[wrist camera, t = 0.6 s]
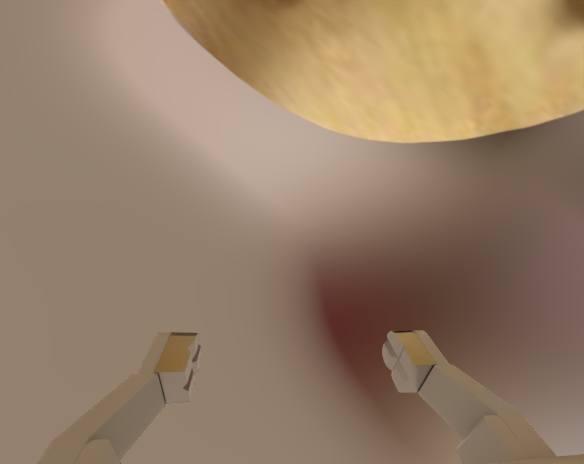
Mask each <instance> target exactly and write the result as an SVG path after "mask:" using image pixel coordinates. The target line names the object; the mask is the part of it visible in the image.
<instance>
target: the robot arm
mask: <svg viewBox="0 0 584 464" xmlns="http://www.w3.org/2000/svg"><path fill="white" fill-rule="evenodd" d="M387 338H388V341H387V342H385V343H384V345H383V348H382V355H383V359H384V362H385V364H386V366H387V367H388V368H390V370H392V375H391V377H392V379H393V381H394V383H395V385H396V387H397V389H398V392H399V393H401V392H402V393H404V392H418V394H419V395H420V396H421V397H422V398H423V399H424V400H425V401H426V402H427V403H428V404H429V405H430V406H431V407H432V408H433V409H434V410H435V411H436V412H437V413H438V414H439V416H440V417H442V419H443V420H445V422H446V423H448V425H449V426H451V428H452V429H453V430H454V431H455V432H457V434H458V435H459V436H460V437H461V438H462V439H463V441H462V442H461V443H460V445H459V446H458V447H457V449H456V453H457V454H458V456H459V458H460V460H461V461H462V463H463V464H584V454H580V455H569V456H558V457H557V456H556V455H555V454H554V452H553V451H552V450H551V449H550V448H549V446H548V445H547V444H546V443H545V442H544V441H543V439H542V438H541V437H540V436H539V435H538V433H537V432H536V431H535V430H534V428H532V426H531V425H530V424H529V423H528V421H527V420H526V419H525V418H524V417H523V415H522V414H521V413H520V412H519V411H517V410H516V409H515V408H513V407H512V406H510V405H509V404H508V403H506V402H505V401H503V400H502V399H500V398H499V397H498V396H496V395H495V394H493V393H492V392H491V391H489V390H488V389H486V388H485V387H483V386H482V385H481V384H479V383H478V382H476V381H475V380H474V379H472V378H471V377H469V376H468V375H467V374H465V373H464V372H462V371H461V370H459V369H458V368H457V367H455V366H454V365H449V363H448V362H447V361H446V359H445V358H444V356H443V355H442V354H441V352H440V351H439V350H438V348H437V347H436V345H435V344H434V343H433V341H432V340H431V338H430V337H429V336H428V334H427V333H426V332H424V331H411V330H406V331H390V332H389V333H388V335H387ZM199 340H200V335H199V333H177V332H176V333H175V332H159V333H158V334H157V335H156V336H155V337H154V339H153V341H152V344H151V345H150V347H149V350H148V351H147V353H146V355H145V357H144V359H143V361H142V364H141V366H140V368H139V370H138V372H137V374H132V375H130V376H129V377H128V378H127V379H125V380H124V381H123V382H122V383H121V384H120V385H118V386H117V387H116V388H115V389H113V390H112V391H111V392H110V393H109V394H108V395H106V396H105V397H104V398H103V399H101V400H100V401H99V402H98V403H97V404H95V405H94V406H93V407H92V408H91V409H90V410H88V411H87V412H86V413H85V414H84V415H82V416H81V417H80V418H79V419H78V420H76V421H75V422H74V423H73V424H72V425H70V426H69V427H68V428H67V429H66V430H64V431H63V432H62V433H61V434H60V435H59V436H57V437H56V438H55V439H54V440H53V441H52V442H51V443H50V445H49V447H48V448H47V449H46V451H45V453H44V454H43V456H42V457H41V459H40V460H39V462H38V463H37V464H121V463H120V460H121V459H122V457H123V456H124V455H125V454H126V452H127V451H128V450H129V449H130V448H131V446H132V445H133V444H134V443H135V442H136V441H137V439H138V438H139V437H140V436H141V434H142V433H143V432H144V431H145V430H146V428H147V427H148V426H149V425H150V424H151V422H152V421H153V420H154V419H155V418H156V416H157V415H158V414H159V413H160V412H161V410H162V409H163V408H164V407H165V404H169V403H184V402H190V400H191V396H192V392H193V389H194V385H195V380H194V375H195V374H196V373H197V372H198V370H199V365H200V360H201V346H200V345H199Z"/></svg>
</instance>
